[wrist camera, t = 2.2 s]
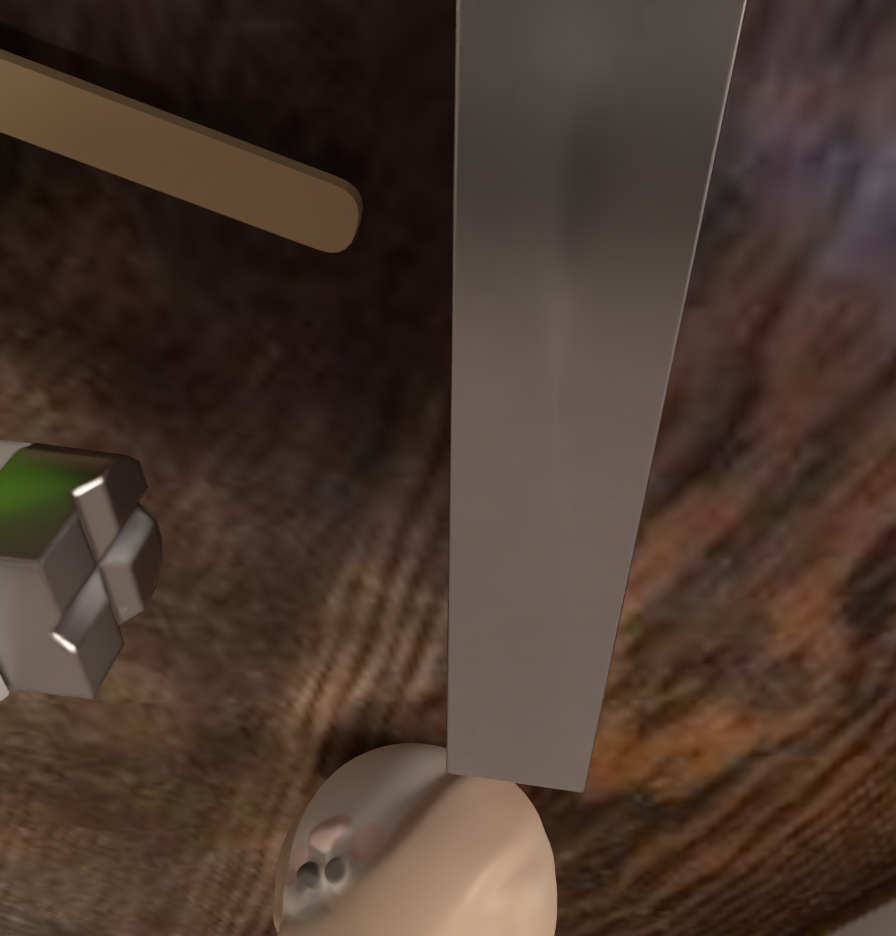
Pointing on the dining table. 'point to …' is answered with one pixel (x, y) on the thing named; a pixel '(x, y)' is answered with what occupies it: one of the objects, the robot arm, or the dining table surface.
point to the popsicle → (176, 156)
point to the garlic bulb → (415, 854)
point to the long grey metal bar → (564, 345)
